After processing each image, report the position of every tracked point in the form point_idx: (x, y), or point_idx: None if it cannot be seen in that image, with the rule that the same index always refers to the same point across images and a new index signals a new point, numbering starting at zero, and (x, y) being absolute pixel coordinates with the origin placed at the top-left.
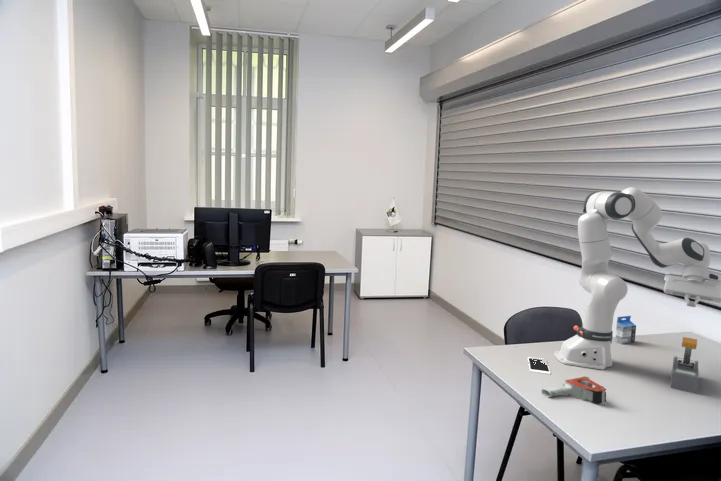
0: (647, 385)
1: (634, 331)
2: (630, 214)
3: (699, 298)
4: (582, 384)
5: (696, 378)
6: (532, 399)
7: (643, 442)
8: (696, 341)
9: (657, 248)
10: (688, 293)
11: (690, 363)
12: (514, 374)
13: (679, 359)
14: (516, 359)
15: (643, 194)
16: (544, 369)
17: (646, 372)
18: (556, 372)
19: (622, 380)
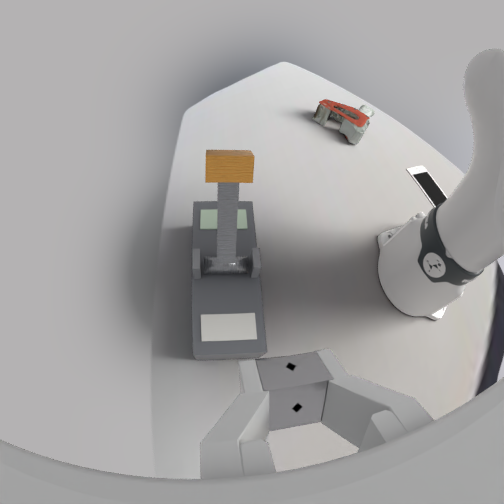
0: (288, 207)
1: None
2: None
3: (211, 443)
4: (347, 108)
5: (198, 202)
6: (367, 104)
7: (253, 75)
8: (208, 152)
9: None
10: (414, 430)
11: (214, 257)
12: (421, 149)
13: (247, 329)
14: None
15: None
16: (420, 179)
17: (310, 290)
18: (407, 179)
19: (332, 204)
